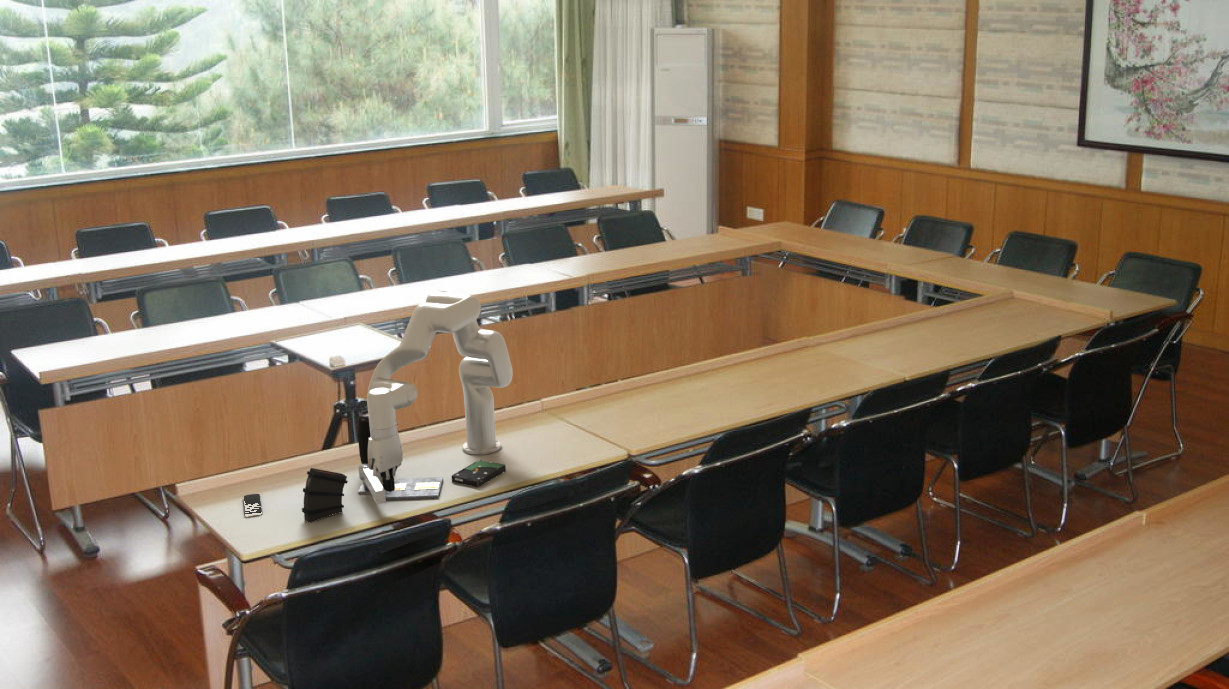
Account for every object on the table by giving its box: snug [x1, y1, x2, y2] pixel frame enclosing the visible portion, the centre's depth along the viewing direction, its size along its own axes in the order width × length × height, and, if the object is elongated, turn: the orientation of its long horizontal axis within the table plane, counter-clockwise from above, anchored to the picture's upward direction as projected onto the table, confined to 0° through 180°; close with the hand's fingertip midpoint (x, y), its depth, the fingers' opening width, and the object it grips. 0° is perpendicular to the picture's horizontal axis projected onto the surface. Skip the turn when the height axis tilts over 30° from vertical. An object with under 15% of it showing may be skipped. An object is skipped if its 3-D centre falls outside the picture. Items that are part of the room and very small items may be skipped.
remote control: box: [243, 493, 263, 515], centre depth 353 cm, size 5×2×15 cm
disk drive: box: [451, 459, 507, 489], centre depth 371 cm, size 10×3×15 cm
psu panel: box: [381, 476, 444, 501], centre depth 362 cm, size 14×18×1 cm
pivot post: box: [357, 480, 371, 495], centre depth 362 cm, size 5×5×4 cm
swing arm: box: [358, 463, 387, 505], centre depth 352 cm, size 4×23×4 cm, turn 22°
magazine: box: [301, 467, 349, 523], centre depth 344 cm, size 4×13×15 cm, turn 130°
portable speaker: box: [357, 409, 371, 465], centre depth 374 cm, size 9×9×20 cm
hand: (389, 489), depth 347 cm, fingers closed
